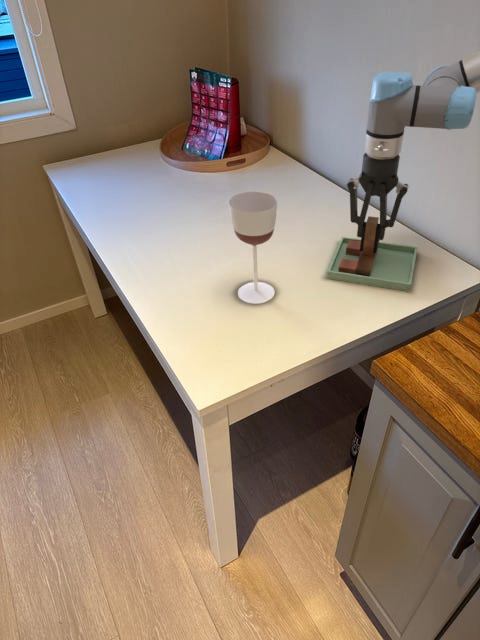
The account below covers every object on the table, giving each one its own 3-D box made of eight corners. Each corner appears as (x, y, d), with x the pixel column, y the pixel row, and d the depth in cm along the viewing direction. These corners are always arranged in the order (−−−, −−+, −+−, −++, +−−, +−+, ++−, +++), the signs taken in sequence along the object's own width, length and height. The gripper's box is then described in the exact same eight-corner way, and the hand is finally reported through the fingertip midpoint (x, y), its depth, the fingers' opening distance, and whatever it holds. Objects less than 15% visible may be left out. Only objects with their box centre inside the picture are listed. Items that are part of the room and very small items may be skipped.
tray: (416, 253, 123) (417, 246, 122) (409, 291, 111) (411, 284, 110) (341, 243, 129) (341, 236, 128) (326, 278, 117) (327, 271, 115)
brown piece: (378, 248, 124) (384, 207, 117) (369, 278, 114) (375, 235, 107) (364, 246, 125) (369, 205, 118) (354, 275, 115) (359, 233, 108)
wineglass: (245, 277, 119) (240, 189, 104) (283, 286, 115) (284, 196, 100) (228, 298, 112) (220, 207, 98) (267, 308, 109) (266, 215, 94)
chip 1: (364, 248, 125) (364, 242, 124) (361, 256, 122) (362, 249, 121) (348, 246, 127) (349, 240, 125) (345, 254, 124) (346, 247, 122)
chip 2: (357, 267, 119) (358, 260, 117) (354, 276, 116) (355, 269, 115) (341, 265, 120) (342, 258, 119) (338, 273, 117) (338, 266, 116)
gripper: (341, 156, 102) (333, 252, 117) (418, 163, 98) (399, 262, 113) (348, 144, 108) (339, 237, 123) (421, 150, 103) (403, 246, 118)
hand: (368, 249), depth 118 cm, fingers closed on brown piece, 2 cm apart
